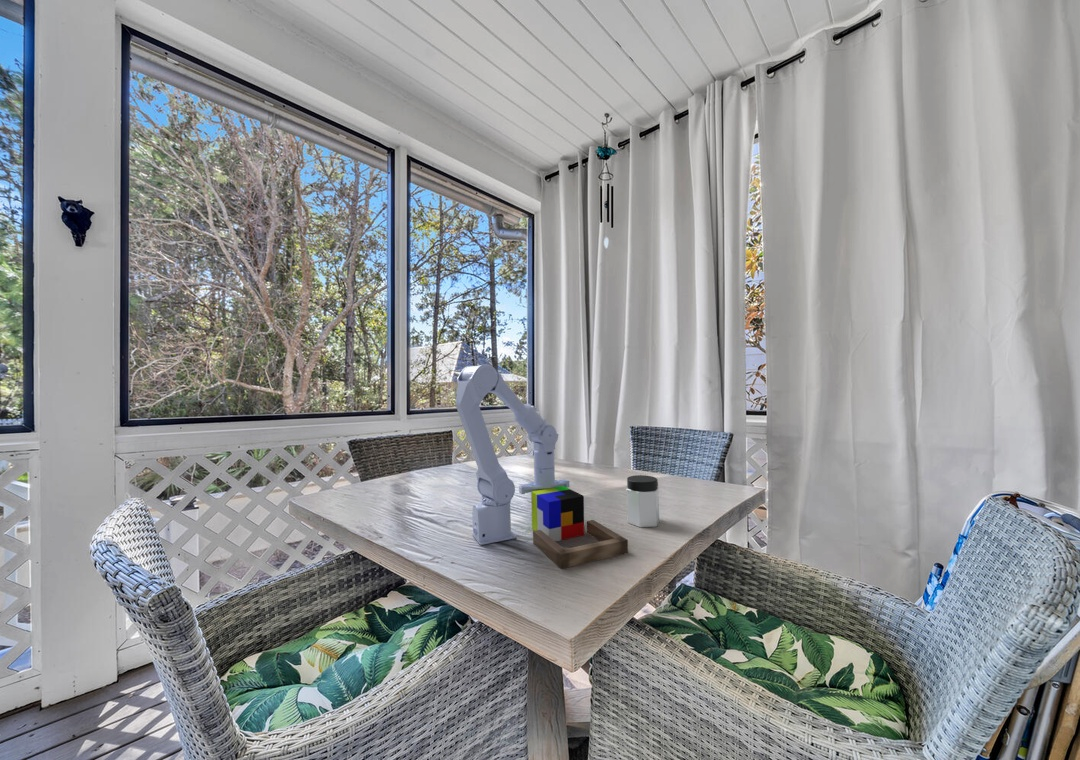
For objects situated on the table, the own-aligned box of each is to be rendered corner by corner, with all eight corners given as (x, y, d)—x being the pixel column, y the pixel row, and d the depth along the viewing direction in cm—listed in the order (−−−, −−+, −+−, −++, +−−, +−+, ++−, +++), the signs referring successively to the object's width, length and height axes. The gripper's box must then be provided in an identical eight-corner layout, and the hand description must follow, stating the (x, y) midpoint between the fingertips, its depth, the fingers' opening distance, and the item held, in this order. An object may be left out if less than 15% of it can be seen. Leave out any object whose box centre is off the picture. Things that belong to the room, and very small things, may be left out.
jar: (666, 523, 111) (665, 479, 111) (646, 530, 106) (645, 484, 106) (640, 514, 118) (639, 473, 118) (620, 521, 114) (619, 477, 114)
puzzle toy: (549, 542, 100) (548, 502, 100) (532, 528, 109) (531, 491, 109) (584, 534, 104) (583, 495, 104) (564, 522, 113) (564, 486, 113)
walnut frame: (560, 568, 86) (560, 554, 86) (533, 543, 100) (532, 531, 100) (628, 553, 93) (627, 539, 93) (593, 531, 107) (593, 519, 107)
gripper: (561, 461, 120) (562, 508, 120) (514, 467, 114) (515, 516, 114) (572, 466, 114) (573, 515, 114) (523, 472, 108) (525, 524, 108)
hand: (545, 516), depth 114 cm, fingers closed
